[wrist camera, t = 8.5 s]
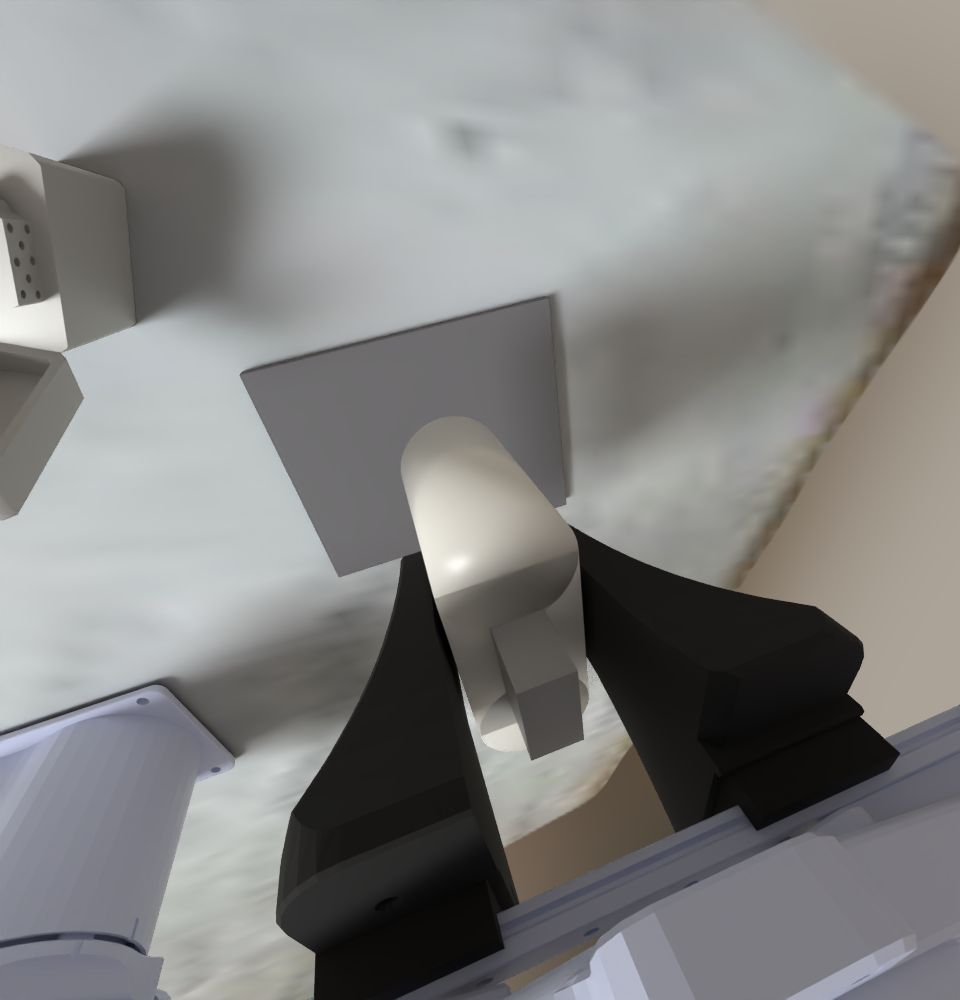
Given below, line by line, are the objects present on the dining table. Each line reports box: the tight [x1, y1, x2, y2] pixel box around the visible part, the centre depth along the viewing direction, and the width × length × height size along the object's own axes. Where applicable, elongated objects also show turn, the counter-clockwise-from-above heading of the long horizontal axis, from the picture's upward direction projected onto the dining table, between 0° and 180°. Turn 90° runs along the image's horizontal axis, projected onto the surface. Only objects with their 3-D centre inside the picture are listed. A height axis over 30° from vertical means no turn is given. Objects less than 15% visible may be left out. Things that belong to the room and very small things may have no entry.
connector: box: [401, 416, 589, 761], centre depth 11 cm, size 3×8×7 cm, turn 10°
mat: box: [240, 297, 566, 577], centre depth 19 cm, size 12×10×1 cm
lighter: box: [0, 144, 136, 520], centre depth 10 cm, size 7×2×8 cm, turn 164°
